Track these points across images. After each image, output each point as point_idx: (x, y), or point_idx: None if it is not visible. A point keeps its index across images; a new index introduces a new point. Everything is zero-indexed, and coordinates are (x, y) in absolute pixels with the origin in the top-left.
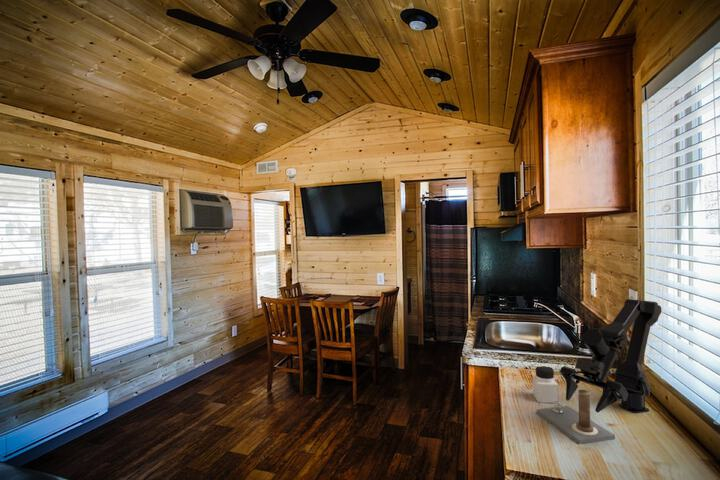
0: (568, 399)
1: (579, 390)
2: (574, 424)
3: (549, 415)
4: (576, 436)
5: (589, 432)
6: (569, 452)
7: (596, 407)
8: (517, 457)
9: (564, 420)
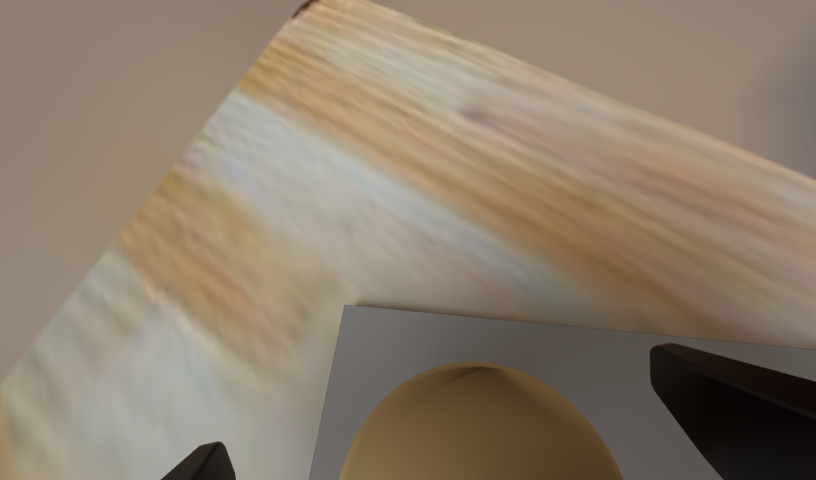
0: (663, 386)
1: (596, 472)
2: None
3: None
4: (386, 322)
5: None
6: (317, 206)
7: (196, 471)
8: (382, 26)
9: (624, 433)
